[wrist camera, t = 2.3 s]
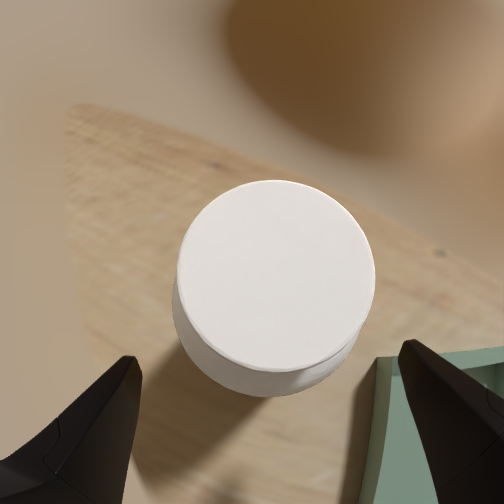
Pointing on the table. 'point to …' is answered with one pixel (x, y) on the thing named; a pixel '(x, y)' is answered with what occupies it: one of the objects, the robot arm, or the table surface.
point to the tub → (412, 430)
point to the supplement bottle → (272, 288)
